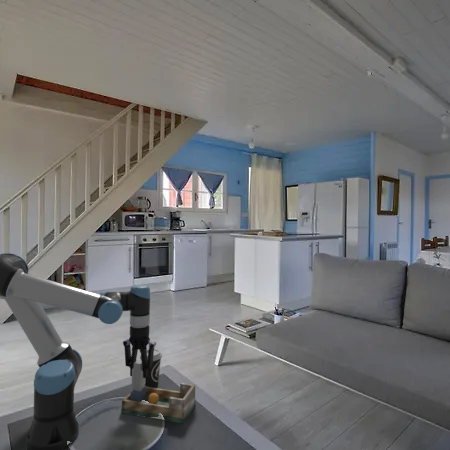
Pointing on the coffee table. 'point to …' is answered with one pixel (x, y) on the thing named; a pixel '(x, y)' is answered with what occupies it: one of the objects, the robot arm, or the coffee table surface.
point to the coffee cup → (153, 370)
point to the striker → (137, 383)
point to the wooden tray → (164, 404)
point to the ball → (153, 398)
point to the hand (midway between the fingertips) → (138, 384)
